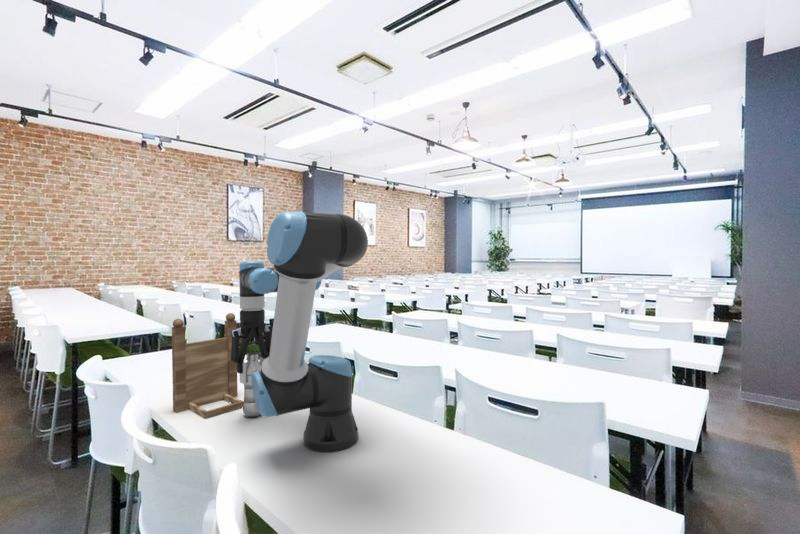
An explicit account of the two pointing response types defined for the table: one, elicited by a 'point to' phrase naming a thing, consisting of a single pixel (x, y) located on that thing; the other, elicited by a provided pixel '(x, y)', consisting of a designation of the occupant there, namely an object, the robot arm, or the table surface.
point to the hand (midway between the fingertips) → (253, 380)
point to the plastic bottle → (250, 385)
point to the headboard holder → (204, 371)
